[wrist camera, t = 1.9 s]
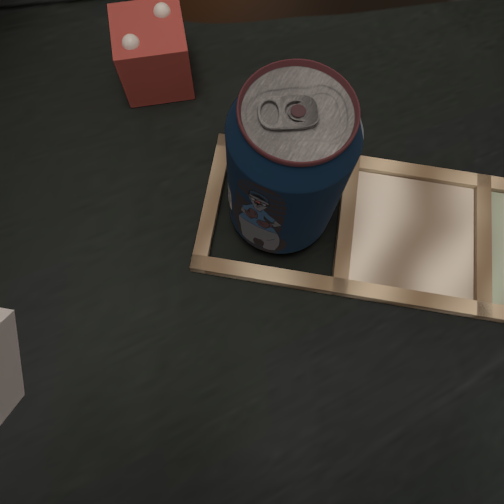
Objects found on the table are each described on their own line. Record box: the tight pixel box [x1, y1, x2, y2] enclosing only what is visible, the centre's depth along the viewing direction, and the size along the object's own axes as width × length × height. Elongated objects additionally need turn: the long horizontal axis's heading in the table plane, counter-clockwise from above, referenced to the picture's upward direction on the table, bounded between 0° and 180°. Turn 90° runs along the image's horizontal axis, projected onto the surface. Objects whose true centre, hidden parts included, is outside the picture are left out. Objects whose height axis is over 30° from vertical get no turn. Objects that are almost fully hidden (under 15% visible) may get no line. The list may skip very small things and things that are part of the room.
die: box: [107, 0, 195, 108], centre depth 33 cm, size 5×5×6 cm
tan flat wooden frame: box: [190, 134, 504, 323], centre depth 31 cm, size 30×10×1 cm, turn 81°
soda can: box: [225, 59, 364, 254], centre depth 26 cm, size 7×7×12 cm
